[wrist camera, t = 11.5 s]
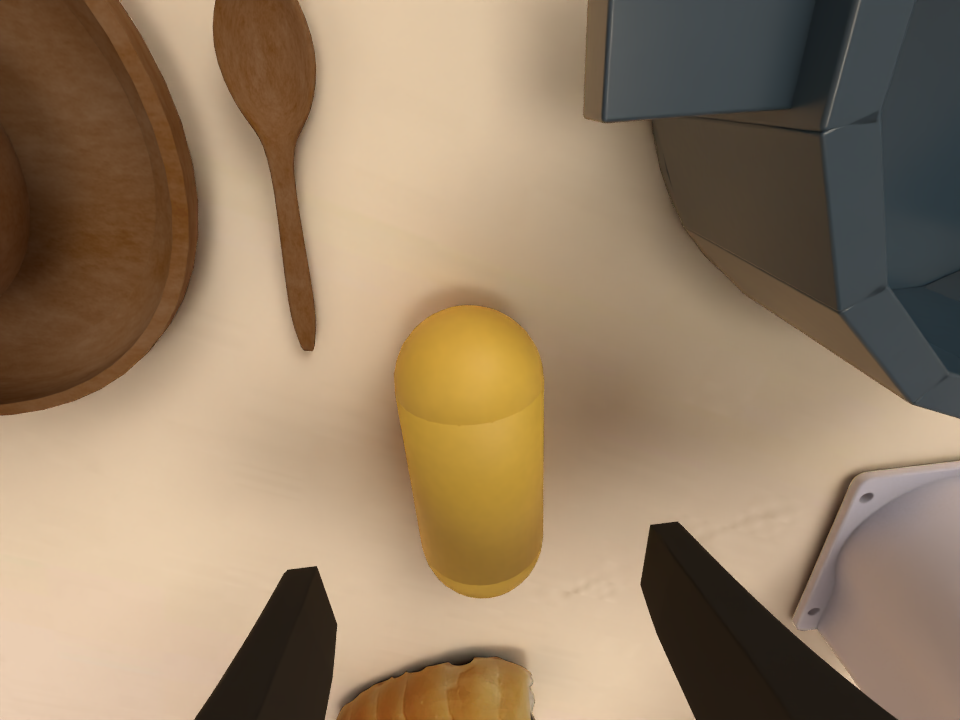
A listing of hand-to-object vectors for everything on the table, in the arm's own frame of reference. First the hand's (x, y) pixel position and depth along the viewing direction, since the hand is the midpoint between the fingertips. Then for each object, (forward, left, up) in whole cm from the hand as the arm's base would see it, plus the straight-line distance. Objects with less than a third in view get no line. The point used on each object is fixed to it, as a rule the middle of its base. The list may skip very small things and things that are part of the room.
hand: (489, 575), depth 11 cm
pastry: (-16, +2, -6) cm, 17 cm away
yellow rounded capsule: (0, 0, -6) cm, 6 cm away
